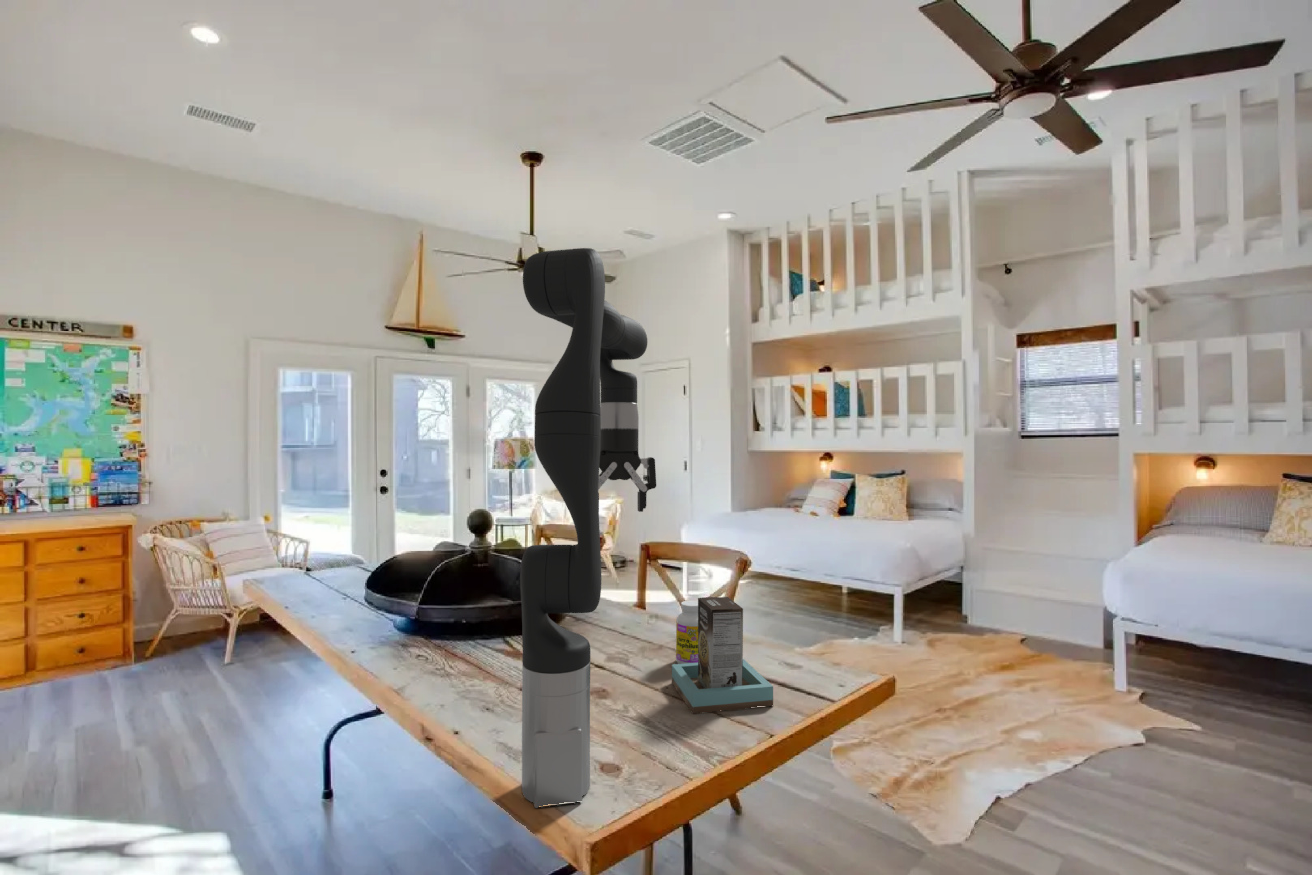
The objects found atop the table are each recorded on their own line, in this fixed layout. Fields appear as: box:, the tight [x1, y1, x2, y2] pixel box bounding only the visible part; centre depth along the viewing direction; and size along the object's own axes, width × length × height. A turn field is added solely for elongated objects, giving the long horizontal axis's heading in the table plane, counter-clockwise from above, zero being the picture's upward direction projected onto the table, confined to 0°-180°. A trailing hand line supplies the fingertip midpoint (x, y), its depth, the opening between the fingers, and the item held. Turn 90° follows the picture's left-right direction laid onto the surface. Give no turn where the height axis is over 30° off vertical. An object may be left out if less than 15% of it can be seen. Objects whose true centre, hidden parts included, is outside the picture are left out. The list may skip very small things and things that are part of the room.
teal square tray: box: [671, 658, 774, 715], centre depth 122 cm, size 15×15×4 cm
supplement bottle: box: [675, 600, 698, 664], centre depth 140 cm, size 7×7×13 cm
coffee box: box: [697, 596, 744, 689], centre depth 122 cm, size 9×6×16 cm
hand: (618, 511), depth 124 cm, fingers open, 8 cm apart
